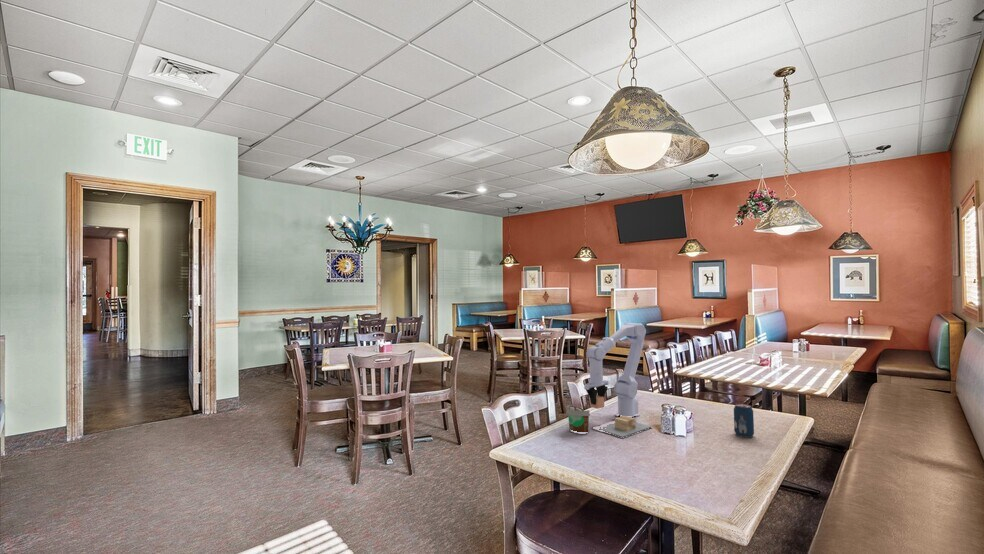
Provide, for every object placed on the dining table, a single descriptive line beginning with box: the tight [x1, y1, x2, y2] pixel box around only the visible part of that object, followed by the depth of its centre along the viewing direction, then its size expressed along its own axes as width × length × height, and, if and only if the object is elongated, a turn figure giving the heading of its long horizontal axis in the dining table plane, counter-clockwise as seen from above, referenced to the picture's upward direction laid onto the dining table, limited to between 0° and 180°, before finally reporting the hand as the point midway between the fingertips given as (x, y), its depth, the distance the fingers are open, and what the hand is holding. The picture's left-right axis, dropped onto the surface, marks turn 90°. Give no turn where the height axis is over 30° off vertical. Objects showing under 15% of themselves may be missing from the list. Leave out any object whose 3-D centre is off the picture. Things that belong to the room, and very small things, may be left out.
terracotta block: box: [589, 395, 605, 410], centre depth 200 cm, size 4×4×4 cm
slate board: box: [599, 422, 652, 439], centre depth 190 cm, size 20×16×1 cm
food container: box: [566, 403, 591, 433], centre depth 187 cm, size 12×6×10 cm, turn 25°
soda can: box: [733, 403, 755, 438], centre depth 179 cm, size 7×7×12 cm
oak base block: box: [614, 416, 637, 431], centre depth 188 cm, size 6×6×4 cm
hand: (597, 403), depth 200 cm, fingers closed on terracotta block, 4 cm apart
